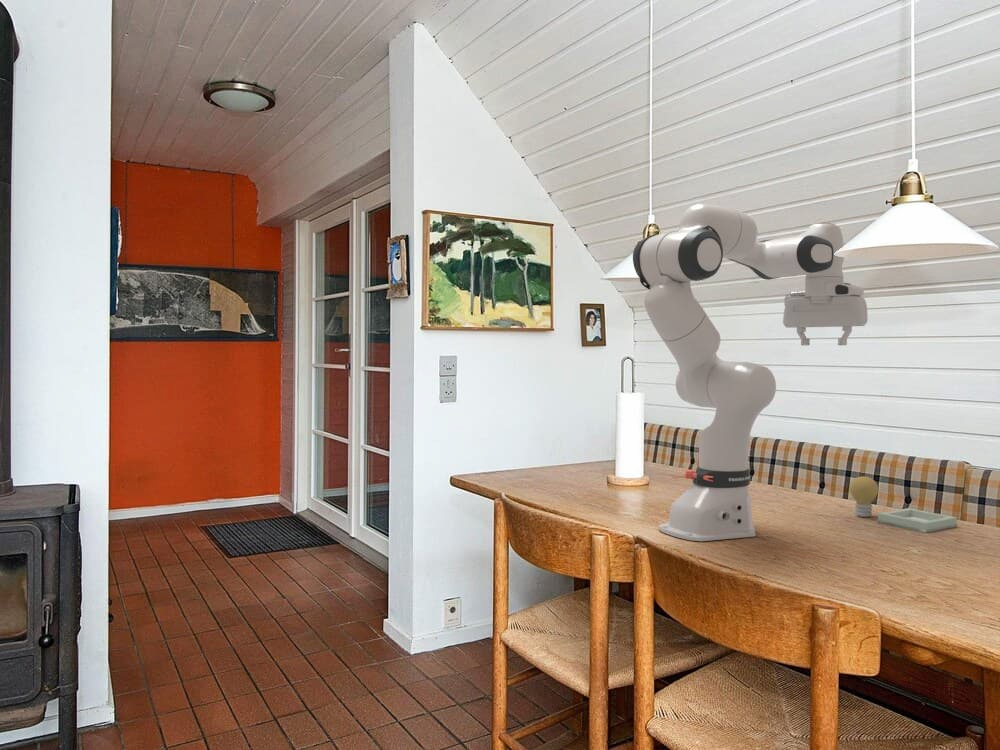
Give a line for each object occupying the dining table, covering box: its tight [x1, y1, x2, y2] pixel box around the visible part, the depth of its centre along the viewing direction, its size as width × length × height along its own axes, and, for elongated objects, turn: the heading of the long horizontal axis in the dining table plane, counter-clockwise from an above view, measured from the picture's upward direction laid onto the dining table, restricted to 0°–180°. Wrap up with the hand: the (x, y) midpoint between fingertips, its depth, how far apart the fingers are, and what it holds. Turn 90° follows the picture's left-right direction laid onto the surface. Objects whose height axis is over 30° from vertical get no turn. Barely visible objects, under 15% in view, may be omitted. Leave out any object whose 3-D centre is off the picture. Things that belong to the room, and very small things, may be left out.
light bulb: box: [849, 476, 879, 518], centre depth 193 cm, size 6×6×10 cm
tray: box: [877, 507, 958, 534], centre depth 184 cm, size 12×12×2 cm
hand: (823, 345), depth 193 cm, fingers open, 8 cm apart
